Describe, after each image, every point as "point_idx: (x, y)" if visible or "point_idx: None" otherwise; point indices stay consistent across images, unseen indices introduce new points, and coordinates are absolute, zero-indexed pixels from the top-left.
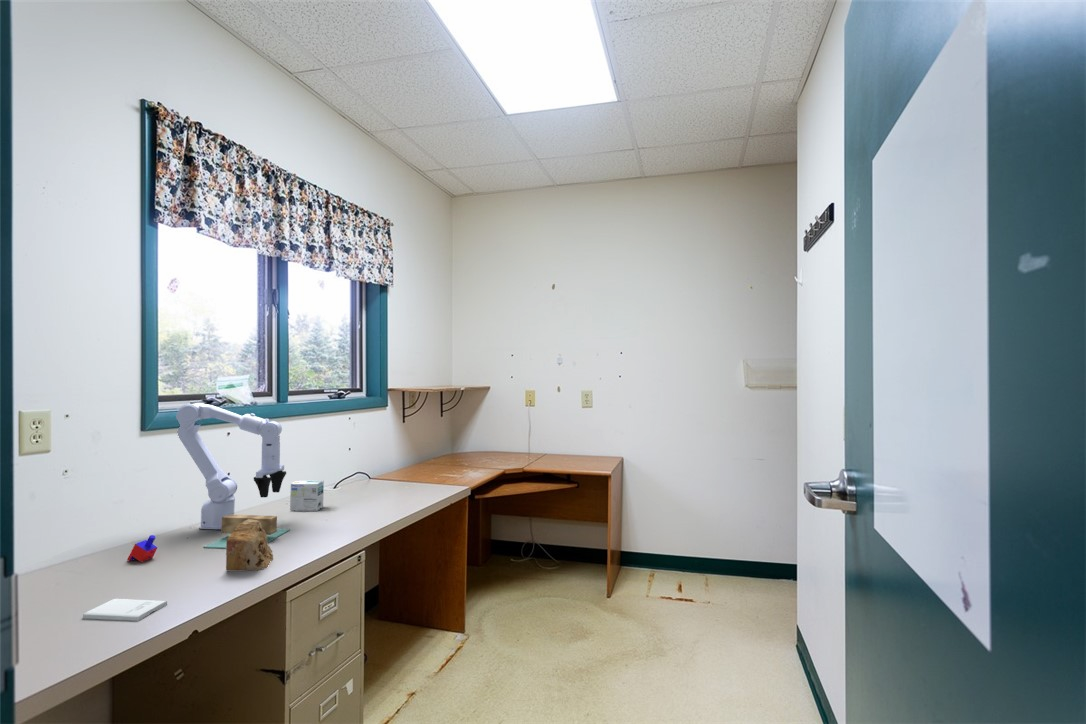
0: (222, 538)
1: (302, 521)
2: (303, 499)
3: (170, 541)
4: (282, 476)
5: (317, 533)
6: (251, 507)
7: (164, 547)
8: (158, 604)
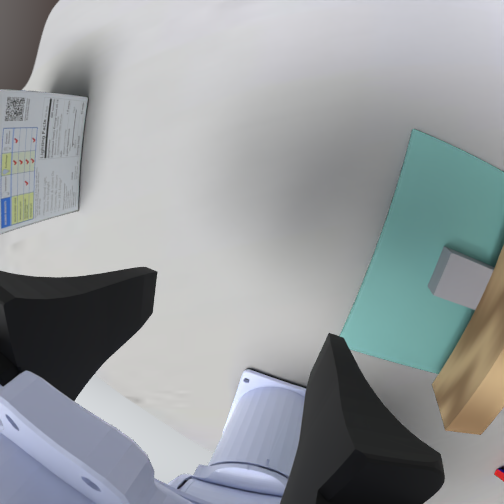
0: None
1: (246, 99)
2: (45, 158)
3: None
4: (45, 297)
5: (462, 16)
6: None
7: (454, 465)
8: None
